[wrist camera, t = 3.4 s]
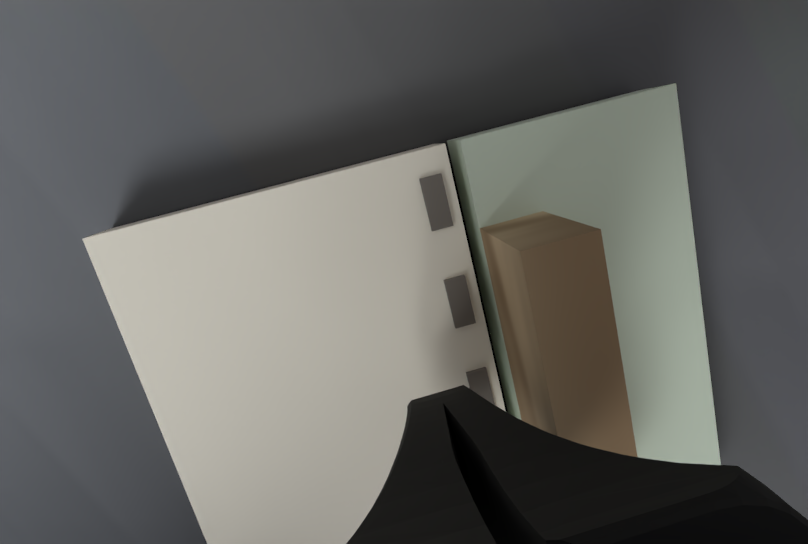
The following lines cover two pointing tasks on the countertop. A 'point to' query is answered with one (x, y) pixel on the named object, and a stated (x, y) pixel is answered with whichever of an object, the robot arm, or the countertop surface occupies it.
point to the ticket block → (299, 338)
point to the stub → (593, 275)
